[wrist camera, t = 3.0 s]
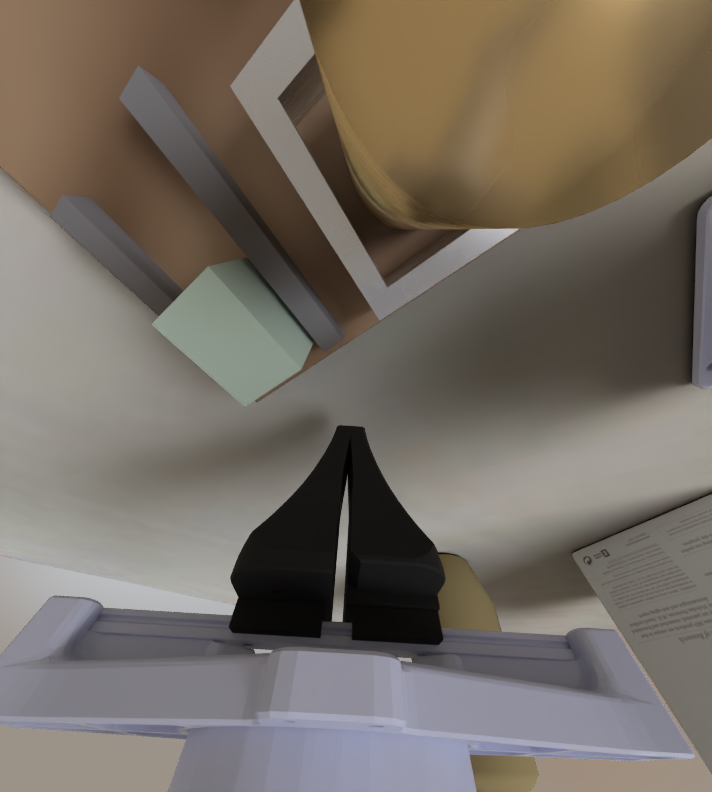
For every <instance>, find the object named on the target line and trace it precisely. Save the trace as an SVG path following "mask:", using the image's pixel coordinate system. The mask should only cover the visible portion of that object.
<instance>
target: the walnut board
mask: <svg viewBox="0 0 712 792" xmlns="http://www.w3.org/2000/svg"><path fill="white" fill-rule="evenodd" d="M293 1H294V0H0V167H1V168H2V169H4V170H5V171H6V172H7V173H8V174H9V175H10V176H11V177H12V178H13V179H14V180H16V181H17V182H18V183H19V184H20V185H21V186H22V187H23V188H24V189H25V190H26V191H27V192H29V193H30V194H31V195H32V196H33V197H34V198H35V199H36V200H37V201H38V202H39V203H41V204H42V205H43V206H44V207H45V208H46V209H47V210H48V211H49V212H50V213H51V215H50V217H51V218H52V219H53V220H54V221H55V222H57V223H58V224H59V225H60V226H61V227H62V228H63V229H64V230H65V231H66V232H68V233H69V234H70V235H71V236H72V237H73V238H74V239H75V240H76V241H77V242H78V243H80V244H81V245H82V246H83V247H84V248H85V249H86V250H87V251H88V252H89V253H91V254H92V255H93V256H94V257H95V258H96V259H97V260H98V261H99V262H100V263H101V264H103V265H104V266H105V267H106V268H107V269H108V270H109V271H110V272H111V273H112V274H114V275H115V276H116V277H117V278H118V279H119V280H120V281H121V282H122V283H123V284H124V285H126V286H127V287H128V288H129V289H130V290H131V291H132V292H133V293H134V294H135V295H137V296H138V297H139V298H140V299H141V300H142V301H143V302H144V303H145V304H146V305H147V306H149V307H150V308H151V309H152V310H153V311H154V312H155V313H156V314H157V315H158V316H160V315H161V314H162V313H163V312H164V311H165V310H166V309H167V308H168V307H169V306H170V305H171V304H172V303H173V302H174V301H175V300H176V299H177V298H178V296H179V295H180V294H181V293H182V292H183V291H184V290H185V289H186V288H187V287H188V286H189V285H190V284H191V283H192V282H193V281H194V280H195V279H196V278H197V277H198V276H199V275H200V274H201V273H202V272H203V271H204V270H205V269H206V268H207V267H208V266H211V265H216V264H220V263H225V262H229V261H233V260H238V259H242V258H247V257H248V258H249V260H250V261H251V262H252V263H253V265H254V266H255V267H256V268H257V270H258V271H259V272H260V273H261V275H262V276H263V277H264V278H265V279H266V281H267V282H268V283H269V284H270V286H271V287H272V288H273V289H274V291H275V292H276V293H277V294H278V296H279V297H280V298H281V299H282V300H283V302H284V303H285V304H286V305H287V307H288V308H289V309H290V310H291V312H292V313H293V314H294V315H295V317H296V318H297V319H298V320H299V321H300V323H301V324H302V325H303V326H304V328H305V329H306V330H307V331H308V333H309V334H310V335H311V336H312V338H313V339H314V340H315V341H314V343H313V345H312V347H311V349H310V351H309V354H308V356H307V358H306V360H305V362H304V364H303V367H302V369H301V370H300V371H298V372H297V373H295V374H294V375H292V376H291V377H289V378H288V379H286V380H285V381H283V382H282V383H280V384H279V385H277V386H276V387H274V388H273V389H271V390H270V391H268V392H267V393H265V394H264V395H262V396H261V397H259V398H258V399H256V400H255V401H256V402H258V401H260V400H261V399H263V398H264V397H266V396H267V395H269V394H270V393H272V392H273V391H275V390H277V389H278V388H280V387H281V386H283V385H284V384H286V383H287V382H289V381H290V380H292V379H293V378H295V377H296V376H298V375H299V374H301V373H302V372H304V371H305V370H307V369H308V368H310V367H312V366H313V365H315V364H316V363H318V362H319V361H321V360H322V359H324V358H325V357H327V356H328V355H330V354H331V353H333V352H334V351H336V350H337V349H339V348H340V347H342V346H344V345H345V344H347V343H348V342H350V341H351V340H353V339H354V338H356V337H357V336H359V335H360V334H362V333H363V332H365V331H366V330H368V329H369V328H371V327H372V326H374V325H375V324H377V323H379V322H380V321H382V320H383V319H385V318H386V317H388V316H389V315H391V314H392V313H394V312H395V311H397V310H398V309H400V308H401V307H403V306H404V305H406V304H407V303H406V304H404V305H403V306H401V307H400V308H398V309H397V310H395V311H394V312H392V313H391V314H389V315H388V316H386V317H385V318H383V319H382V320H380V321H379V319H378V318H377V316H376V314H375V313H374V311H373V310H372V308H371V307H370V305H369V303H368V302H367V300H366V299H365V297H364V296H363V294H362V292H361V291H360V289H359V288H358V286H357V285H356V283H355V281H354V280H353V278H352V277H351V275H350V274H349V272H348V270H347V269H346V267H345V266H344V264H343V263H342V261H341V259H340V258H339V256H338V255H337V253H336V252H335V250H334V249H333V247H332V245H331V244H330V242H329V241H328V239H327V238H326V236H325V234H324V233H323V231H322V230H321V228H320V227H319V225H318V223H317V222H316V220H315V219H314V217H313V216H312V214H311V212H310V211H309V209H308V208H307V206H306V205H305V203H304V201H303V200H302V198H301V197H300V195H299V194H298V192H297V190H296V189H295V187H294V186H293V184H292V183H291V181H290V180H289V178H288V176H287V175H286V173H285V172H284V170H283V169H282V167H281V165H280V164H279V162H278V161H277V159H276V158H275V156H274V154H273V153H272V151H271V150H270V148H269V147H268V145H267V143H266V142H265V140H264V139H263V137H262V136H261V134H260V132H259V131H258V129H257V128H256V126H255V125H254V123H253V121H252V120H251V118H250V117H249V115H248V114H247V112H246V111H245V109H244V107H243V106H242V104H241V103H240V101H239V100H238V98H237V96H236V95H235V93H234V92H233V90H232V89H231V87H230V85H231V84H232V83H233V81H234V80H235V79H236V77H237V76H238V75H239V73H240V72H241V71H242V69H243V68H244V67H245V65H246V64H247V63H248V61H249V60H250V59H251V57H252V56H253V54H254V53H255V52H256V50H257V49H258V48H259V46H260V45H261V44H262V42H263V41H264V40H265V38H266V37H267V36H268V34H269V33H270V32H271V30H272V29H273V28H274V26H275V25H276V24H277V22H278V21H279V20H280V18H281V17H282V16H283V14H284V13H285V12H286V10H287V9H288V7H289V6H290V5H291V3H292V2H293ZM297 129H298V130H299V132H300V134H301V136H302V137H303V139H304V141H305V143H306V144H307V146H308V148H309V150H310V151H311V153H312V155H313V156H314V158H315V160H316V162H317V163H318V165H319V167H320V169H321V170H322V172H323V174H324V176H325V177H326V179H327V181H328V182H329V184H330V186H331V188H332V189H333V191H334V193H335V195H336V196H337V198H338V200H339V202H340V203H341V205H342V207H343V208H344V210H345V212H346V214H347V215H348V217H349V219H350V221H351V222H352V224H353V226H354V228H355V229H356V231H357V233H358V234H359V236H360V238H361V240H362V241H363V243H364V245H365V247H366V248H367V250H368V252H369V254H370V255H371V257H372V259H373V260H374V262H375V264H376V266H377V267H378V269H379V271H380V273H381V274H382V276H383V278H385V277H386V276H387V275H389V274H390V273H392V272H393V271H394V270H396V269H397V268H399V267H400V266H401V265H403V264H404V263H405V262H407V261H408V260H410V259H411V258H412V257H414V256H415V255H417V254H418V253H419V252H421V251H422V250H423V249H425V248H426V247H428V246H429V245H430V244H432V243H433V242H435V241H436V240H437V239H439V238H440V237H442V236H443V235H444V234H446V233H447V232H448V231H450V230H451V229H420V230H401V229H394V228H391V227H388V226H386V225H384V224H382V223H380V222H379V221H377V220H376V219H374V218H373V217H372V216H371V215H370V214H369V213H368V211H367V210H366V209H365V208H364V206H363V205H362V203H361V201H360V200H359V198H358V195H357V193H356V191H355V188H354V185H353V182H352V179H351V175H350V172H349V168H348V165H347V162H346V158H345V155H344V151H343V148H342V145H341V141H340V138H339V134H338V131H337V127H336V124H335V121H334V117H333V114H332V110H331V107H330V104H329V100H328V97H327V93H326V94H325V95H324V97H323V98H322V99H321V100H320V101H319V102H318V103H317V104H316V105H315V107H314V108H313V109H312V110H311V111H310V112H309V113H308V114H307V115H306V117H305V118H304V119H303V120H302V121H301V122H300V123H299V124H298V125H297ZM519 230H520V229H518V230H517V231H519ZM517 231H515V232H517ZM515 232H514V233H515ZM514 233H512V234H514ZM512 234H511V235H512ZM511 235H509V236H511ZM509 236H508V237H509ZM508 237H506V238H508ZM506 238H505V239H506ZM505 239H503V240H505ZM503 240H502V241H503ZM502 241H500V242H502ZM500 242H499V243H500ZM499 243H497V244H499ZM497 244H496V245H497ZM496 245H494V246H496ZM494 246H493V247H494ZM493 247H491V248H493ZM491 248H490V249H491ZM490 249H488V250H490ZM488 250H487V251H488ZM487 251H485V252H487ZM485 252H483V253H482V254H484V253H485ZM482 254H480V255H482ZM480 255H479V256H480ZM479 256H477V257H479ZM477 257H476V258H477ZM476 258H474V259H476ZM474 259H473V260H474ZM473 260H471V261H473ZM471 261H470V262H471ZM470 262H468V263H470ZM468 263H467V264H468ZM467 264H465V265H467ZM465 265H464V266H465ZM464 266H462V267H464ZM462 267H461V268H462ZM461 268H459V269H461ZM459 269H458V270H459ZM458 270H456V271H458ZM456 271H455V272H456ZM455 272H453V273H455ZM453 273H452V274H453ZM452 274H450V275H452ZM450 275H449V276H450ZM449 276H447V277H449ZM447 277H445V278H447ZM445 278H444V279H445ZM444 279H442V280H444ZM442 280H441V281H442ZM441 281H439V282H441ZM439 282H438V283H439ZM438 283H436V284H438ZM436 284H435V285H436ZM435 285H433V286H435ZM433 286H432V287H433ZM432 287H430V288H432ZM430 288H429V289H430ZM429 289H427V290H429ZM427 290H426V291H427ZM426 291H424V292H426ZM424 292H423V293H424ZM423 293H421V294H423ZM421 294H420V295H421ZM420 295H418V296H420ZM418 296H417V297H418ZM417 297H415V298H417ZM415 298H414V299H415ZM414 299H412V300H414ZM412 300H411V301H412ZM409 302H410V301H409ZM409 302H408V303H409Z"/></svg>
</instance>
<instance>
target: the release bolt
mask: <svg viewBox="0 0 712 792" xmlns="http://www.w3.org/2000/svg"><path fill="white" fill-rule="evenodd" d="M151 325H152V326H153V327H154V328H156V329H157V330H158V331H159V332H160V333H161V334H162V335H163V336H165V337H166V338H167V339H168V340H169V341H170V342H171V343H173V344H174V345H175V346H176V347H177V348H178V349H179V350H180V351H182V352H183V353H184V354H185V355H186V356H187V357H188V358H190V359H191V360H192V361H193V362H194V363H195V364H196V365H197V366H199V367H200V368H201V369H202V370H203V371H204V372H205V373H207V374H208V375H209V376H210V377H211V378H212V379H213V380H214V381H216V382H217V383H218V384H219V385H220V386H221V387H222V388H224V389H225V390H226V391H227V392H228V393H229V394H230V395H231V396H233V397H234V398H235V399H236V400H237V401H238V402H239V403H240V404H242V405H243V406H244V407H246V406H247V405H249V404H250V403H252V402H253V401H255V400H256V399H258V398H259V397H261V396H262V395H264V394H265V393H267V392H268V391H270V390H271V389H273V388H274V387H276V386H277V385H279V384H280V383H282V382H283V381H285V380H286V379H288V378H289V377H291V376H292V375H294V374H295V373H297V372H298V371H300V370H301V369H302V367H303V364H304V362H305V360H306V358H307V356H308V354H309V351H310V349H311V347H312V345H313V343H314V341H315V340H314V339H313V338H312V336H311V335H310V334H309V333H308V331H307V330H306V329H305V328H304V326H303V325H302V324H301V323H300V321H299V320H298V319H297V318H296V317H295V315H294V314H293V313H292V312H291V310H290V309H289V308H288V307H287V305H286V304H285V303H284V302H283V300H282V299H281V298H280V297H279V296H278V294H277V293H276V292H275V291H274V289H273V288H272V287H271V286H270V284H269V283H268V282H267V281H266V279H265V278H264V277H263V276H262V275H261V273H260V272H259V271H258V270H257V268H256V267H255V266H254V265H253V263H252V262H251V261H250V260H249V258H248V257H247V258H242V259H238V260H233V261H229V262H225V263H220V264H216V265H211V266H208V267H207V268H206V269H205V270H204V271H203V272H202V273H201V274H200V275H199V276H198V277H197V278H196V279H195V280H194V281H193V282H192V283H191V284H190V285H189V286H188V287H187V288H186V289H185V290H184V291H183V292H182V293H181V294H180V295H179V296H178V298H177V299H176V300H175V301H174V302H173V303H172V304H171V305H170V306H169V307H168V308H167V309H166V310H165V311H164V312H163V313H162V314H161V315H160V316H159V317H158V318H157V319H156V320H155V321H154V322H153V323H152V324H151Z"/></svg>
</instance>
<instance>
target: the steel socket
mask: <svg viewBox="0 0 712 792" xmlns="http://www.w3.org/2000/svg"><path fill="white" fill-rule="evenodd" d="M230 87H231V89H232V90H233V92H234V93H235V95H236V96H237V98H238V100H239V101H240V103H241V104H242V106H243V107H244V109H245V111H246V112H247V114H248V115H249V117H250V118H251V120H252V121H253V123H254V125H255V126H256V128H257V129H258V131H259V132H260V134H261V136H262V137H263V139H264V140H265V142H266V143H267V145H268V147H269V148H270V150H271V151H272V153H273V154H274V156H275V158H276V159H277V161H278V162H279V164H280V165H281V167H282V169H283V170H284V172H285V173H286V175H287V176H288V178H289V180H290V181H291V183H292V184H293V186H294V187H295V189H296V190H297V192H298V194H299V195H300V197H301V198H302V200H303V201H304V203H305V205H306V206H307V208H308V209H309V211H310V212H311V214H312V216H313V217H314V219H315V220H316V222H317V223H318V225H319V227H320V228H321V230H322V231H323V233H324V234H325V236H326V238H327V239H328V241H329V242H330V244H331V245H332V247H333V249H334V250H335V252H336V253H337V255H338V256H339V258H340V259H341V261H342V263H343V264H344V266H345V267H346V269H347V270H348V272H349V274H350V275H351V277H352V278H353V280H354V281H355V283H356V285H357V286H358V288H359V289H360V291H361V292H362V294H363V296H364V297H365V299H366V300H367V302H368V303H369V305H370V307H371V308H372V310H373V311H374V313H375V314H376V316H377V318H378V319H379V321H380V320H382V319H383V318H385V317H386V316H388V315H389V314H391V313H392V312H394V311H395V310H397V309H398V308H400V307H401V306H403V305H404V304H406V303H408V302H409V301H411V300H412V299H414V298H415V297H417V296H418V295H420V294H421V293H423V292H424V291H426V290H427V289H429V288H430V287H432V286H433V285H435V284H436V283H438V282H439V281H441V280H442V279H444V278H445V277H447V276H449V275H450V274H452V273H453V272H455V271H456V270H458V269H459V268H461V267H462V266H464V265H465V264H467V263H468V262H470V261H471V260H473V259H474V258H476V257H477V256H479V255H480V254H482V253H483V252H485V251H487V250H488V249H490V248H491V247H493V246H494V245H496V244H497V243H499V242H500V241H502V240H503V239H505V238H506V237H508V236H509V235H511V234H512V233H514V232H515V231H517V230H518V229H451V230H450V231H448V232H447V233H446V234H444V235H443V236H442V237H440V238H439V239H437V240H436V241H435V242H433V243H432V244H430V245H429V246H428V247H426V248H425V249H423V250H422V251H421V252H419V253H418V254H417V255H415V256H414V257H412V258H411V259H410V260H408V261H407V262H405V263H404V264H403V265H401V266H400V267H399V268H397V269H396V270H394V271H393V272H392V273H390V274H389V275H387V276H386V277H385V278H383V276H382V274H381V273H380V271H379V269H378V267H377V266H376V264H375V262H374V260H373V259H372V257H371V255H370V254H369V252H368V250H367V248H366V247H365V245H364V243H363V241H362V240H361V238H360V236H359V234H358V233H357V231H356V229H355V228H354V226H353V224H352V222H351V221H350V219H349V217H348V215H347V214H346V212H345V210H344V208H343V207H342V205H341V203H340V202H339V200H338V198H337V196H336V195H335V193H334V191H333V189H332V188H331V186H330V184H329V182H328V181H327V179H326V177H325V176H324V174H323V172H322V170H321V169H320V167H319V165H318V163H317V162H316V160H315V158H314V156H313V155H312V153H311V151H310V150H309V148H308V146H307V144H306V143H305V141H304V139H303V137H302V136H301V134H300V132H299V130H298V129H297V125H298V124H299V123H300V122H301V121H302V120H303V119H304V118H305V117H306V115H307V114H308V113H309V112H310V111H311V110H312V109H313V108H314V107H315V105H316V104H317V103H318V102H319V101H320V100H321V99H322V98H323V97H324V95H325V94H326V90H325V86H324V83H323V80H322V76H321V73H320V69H319V66H318V63H317V59H316V56H315V52H314V49H313V46H312V42H311V39H310V35H309V32H308V28H307V25H306V22H305V18H304V15H303V11H302V8H301V5H300V1H299V0H294V1H293V2H292V3H291V5H290V6H289V7H288V9H287V10H286V12H285V13H284V14H283V16H282V17H281V18H280V20H279V21H278V22H277V24H276V25H275V26H274V28H273V29H272V30H271V32H270V33H269V34H268V36H267V37H266V38H265V40H264V41H263V42H262V44H261V45H260V46H259V48H258V49H257V50H256V52H255V53H254V54H253V56H252V57H251V59H250V60H249V61H248V63H247V64H246V65H245V67H244V68H243V69H242V71H241V72H240V73H239V75H238V76H237V77H236V79H235V80H234V81H233V83H232V84H231V85H230Z"/></svg>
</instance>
